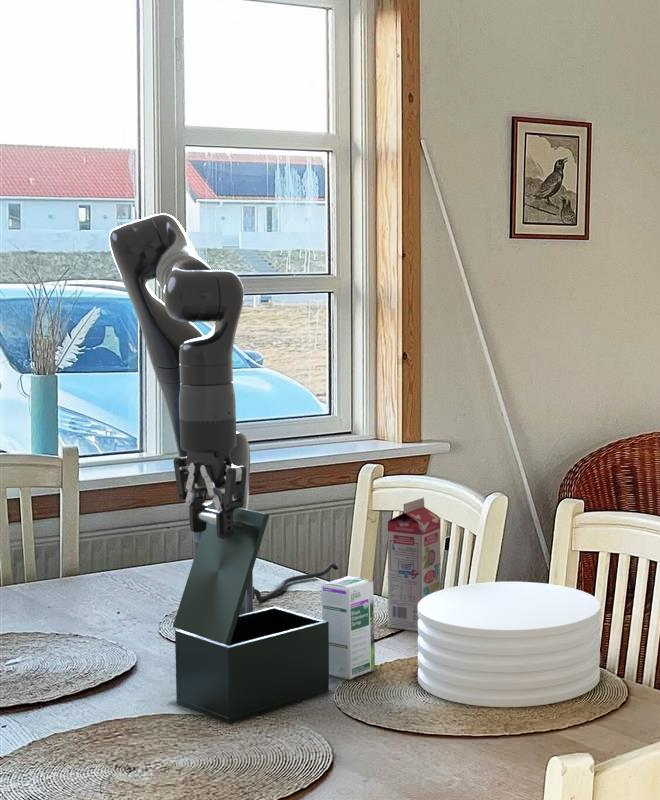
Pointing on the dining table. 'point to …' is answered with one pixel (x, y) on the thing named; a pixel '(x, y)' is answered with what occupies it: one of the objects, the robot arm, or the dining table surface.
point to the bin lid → (220, 575)
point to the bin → (254, 665)
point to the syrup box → (349, 626)
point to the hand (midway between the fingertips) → (211, 534)
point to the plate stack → (509, 643)
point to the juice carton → (412, 563)
